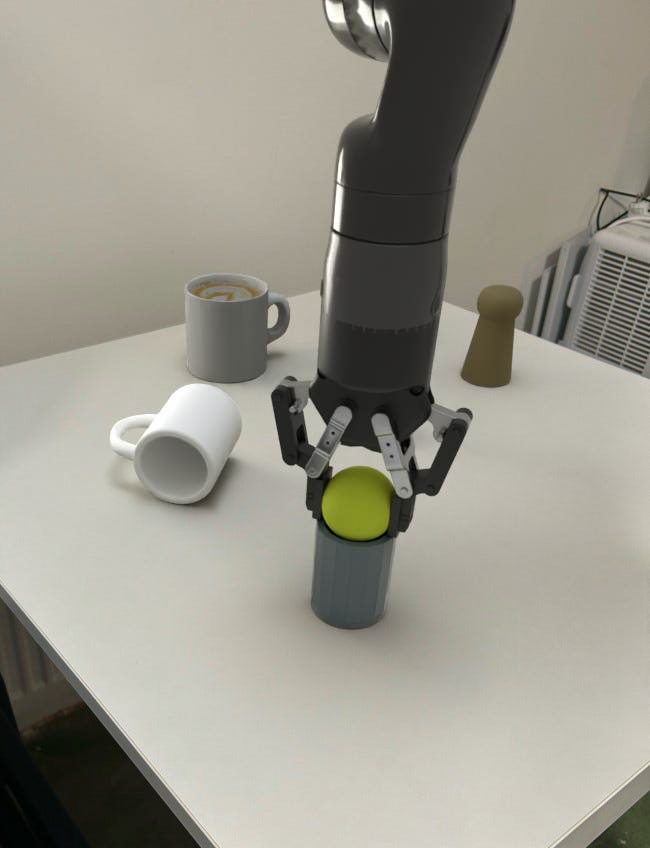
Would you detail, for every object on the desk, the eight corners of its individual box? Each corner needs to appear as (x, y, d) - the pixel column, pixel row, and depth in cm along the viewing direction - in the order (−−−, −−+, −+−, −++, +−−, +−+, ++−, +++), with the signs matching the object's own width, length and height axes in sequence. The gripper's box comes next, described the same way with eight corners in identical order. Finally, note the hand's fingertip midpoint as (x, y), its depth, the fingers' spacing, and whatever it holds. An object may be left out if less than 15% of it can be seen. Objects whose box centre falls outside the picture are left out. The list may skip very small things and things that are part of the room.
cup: (393, 591, 68) (405, 511, 63) (374, 637, 63) (385, 554, 59) (324, 573, 70) (331, 494, 65) (300, 617, 65) (305, 535, 60)
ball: (401, 523, 64) (410, 461, 60) (382, 564, 60) (391, 499, 56) (332, 507, 65) (337, 445, 62) (308, 546, 61) (313, 482, 58)
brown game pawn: (510, 368, 103) (528, 281, 97) (511, 389, 99) (531, 299, 92) (461, 363, 104) (476, 277, 98) (459, 384, 100) (475, 294, 93)
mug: (242, 458, 85) (242, 387, 80) (215, 510, 77) (214, 435, 72) (132, 443, 87) (126, 373, 83) (96, 492, 79) (87, 419, 75)
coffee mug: (195, 386, 98) (193, 304, 92) (180, 353, 106) (177, 276, 100) (302, 375, 101) (307, 295, 95) (280, 344, 109) (283, 268, 103)
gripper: (506, 299, 52) (462, 518, 62) (294, 268, 57) (284, 478, 67) (486, 341, 47) (441, 575, 57) (252, 304, 51) (249, 527, 61)
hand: (356, 521), depth 62 cm, fingers closed on ball, 5 cm apart
